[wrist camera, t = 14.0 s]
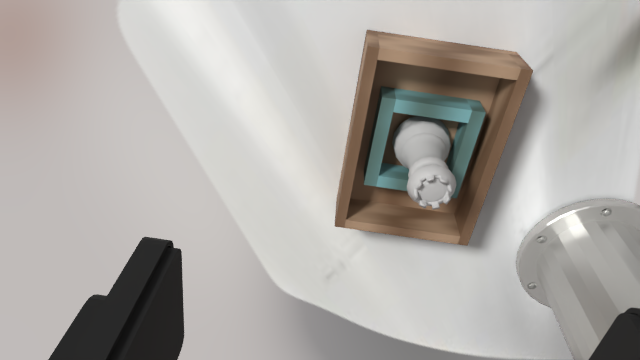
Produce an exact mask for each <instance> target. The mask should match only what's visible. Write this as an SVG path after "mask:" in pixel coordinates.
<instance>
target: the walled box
mask: <svg viewBox="0 0 640 360" xmlns="http://www.w3.org/2000/svg"><path fill="white" fill-rule="evenodd" d="M532 73H533V70H532V69H531V68H530V67H529V65H528V64H527V63H526V62H525V61H524V60H523V59H522V58H521V57H520V55H519V54H518V53H517V52H512V51H505V50H499V49H492V48H485V47H478V46H472V45H465V44H458V43H452V42H445V41H438V40H431V39H425V38H418V37H411V36H405V35H398V34H391V33H385V32H378V31H371V30H367V32H366V37H365V43H364V49H363V54H362V60H361V65H360V71H359V77H358V82H357V88H356V94H355V99H354V105H353V110H352V116H351V122H350V127H349V133H348V138H347V144H346V150H345V155H344V161H343V167H342V172H341V178H340V183H339V189H338V195H337V202H336V216H335V226H336V227H343V228H350V229H357V230H364V231H370V232H377V233H384V234H391V235H398V236H405V237H412V238H419V239H425V240H432V241H439V242H446V243H453V244H460V245H468V242H469V240H470V237H471V234H472V232H473V229H474V226H475V224H476V221H477V218H478V216H479V213H480V211H481V208H482V205H483V203H484V200H485V197H486V195H487V192H488V189H489V187H490V184H491V181H492V179H493V176H494V173H495V171H496V168H497V165H498V163H499V160H500V158H501V155H502V152H503V150H504V147H505V144H506V142H507V139H508V136H509V134H510V131H511V128H512V126H513V123H514V120H515V118H516V115H517V112H518V110H519V107H520V104H521V102H522V99H523V97H524V94H525V91H526V89H527V86H528V83H529V81H530V78H531V75H532ZM416 116H423V117H430V118H436V119H438V120H440V121H441V122H443V124H444V125H445V126H446V128H447V129H448V132H449V138H450V144H451V146H450V150H449V153H448V157H447V158H446V159H445V161H444V162H445V163H446V165H447V166H448V169H449V170H450V171H451V172H452V174H453V175H454V176H455V180H456V188H455V191H454V194H453V195H452V196H451V197H450V198H451V200H450V201H449V202H448V204H447V205H446V204H445V203H444V202H443V203H441V204H439V206H440V208H439V209H434V210H433V209H432V206H426V208H423V207H421V206H419V203H417V202H415V201H413V200H412V198H411V197H410V196H409V195H408V191H407V183H408V179H409V177H408V174H409V169H408V168H406V167H404V166H403V165H402V164H401V163H400V161H399V160H398V159H397V158H396V155H395V152H394V148H393V144H392V141H393V136H394V132H395V131H396V130H397V128H398V127H399V125H400V124H401V123H403V122H404V121H406V120H407V119H409V118H411V117H416Z"/></svg>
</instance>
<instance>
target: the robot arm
mask: <svg viewBox="0 0 640 360" xmlns="http://www.w3.org/2000/svg"><path fill="white" fill-rule="evenodd" d="M516 268H517V273H518V276H519V279H520V282H521V284H522V286H523V288H524V289H525V291H526V292H527V293H528V294H529V295H530V296H531V297H532V298H533V299H535V300H536V301H538V302H539V303H541V304H543V305H546V306H548V307H550V308H551V309H552V311H553V313H554V315H555V318H556V320H557V322H558V324H559V327H560V329H561V331H562V333H563V336H564V338H565V340H566V342H567V345H568V347H569V349H570V351H571V354H572V356H573V358H574V360H640V206H639V205H637V204H635V203H632V202H628V201H624V200H618V199H593V200H588V201H583V202H578V203H575V204H572V205H569V206H566V207H564V208H561V209H560V210H558V211H556V212H554V213H552V214H550V215H548V216H547V217H546V218H544V219H543V220H541V221H540V222H539V223H538V224H537V225H536V226H535V227H534V228H533V229H532V230H531V231H530V232H529V233H528V234H527V236H526V237H525V238H524V240H523V241H522V243H521V245H520V248H519V250H518V253H517V259H516ZM183 339H184V317H183V287H182V256H181V250H180V249H177V248H174V247H173V243H172V241H170V240H163V239H157V238H149V237H144V238H142V240H141V241H140V243H139V244H138V246H137V247H136V249H135V251H134V252H133V254H132V256H131V257H130V259H129V261H128V262H127V264H126V266H125V267H124V269H123V271H122V272H121V274H120V276H119V277H118V279H117V281H116V282H115V284H114V285H113V287H112V289H111V291H110V292H109V294H108V295H107V296H103V295H93V296H91V297H90V298H89V299H88V300H87V301H86V303H85V304H84V305H83V307H82V309H81V310H80V312H79V313H78V315H77V316H76V318H75V319H74V321H73V322H72V324H71V326H70V327H69V329H68V330H67V332H66V333H65V335H64V336H63V338H62V339H61V341H60V343H59V344H58V346H57V347H56V349H55V350H54V352H53V353H52V355H51V356H50V358H49V360H177V359H178V356H179V354H180V351H181V348H182V344H183Z"/></svg>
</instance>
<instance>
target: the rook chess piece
mask: <svg viewBox="0 0 640 360" xmlns="http://www.w3.org/2000/svg"><path fill="white" fill-rule="evenodd" d="M392 144H393V148H394V152H395V155H396V158H397V159H398V160H399V161H400V163H401V164H402V165H403V166H404V167H406V168H408V169H409V174H408V177H409V179H408V183H407V191H408V195H409V196H410V197H411V198H412V200H413V201H415V202H417V203H419V206H421V207H423V208H426V206H432V209H433V210H434V209H439V208H440V206H439V204H441V203H443V202H444V203H445V204H446V205H447V204H448V202H449V201H450V200H451V198H450V197H451V196H452V195H453V194H454V191H455V188H456V180H455V176H454V175H453V174H452V172H451V171H450V170H449V169H448V166H447V165H446V163H445V162H444V161H445V159H446V158H447V157H448V153H449V150H450V146H451V144H450V138H449V132H448V129H447V128H446V126H445V125H444V124H443V122H441V121H440V120H438V119H436V118H430V117H423V116H416V117H411V118H409V119H407V120H406V121H404V122H403V123H401V124H400V125H399V127H398V128H397V130H396V131H395V132H394V136H393V141H392Z"/></svg>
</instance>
